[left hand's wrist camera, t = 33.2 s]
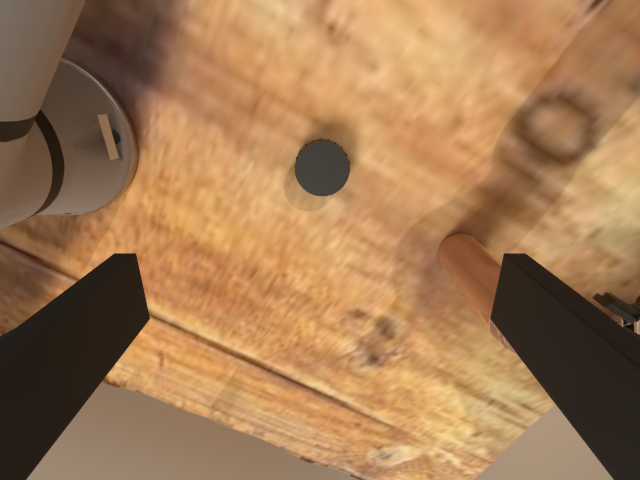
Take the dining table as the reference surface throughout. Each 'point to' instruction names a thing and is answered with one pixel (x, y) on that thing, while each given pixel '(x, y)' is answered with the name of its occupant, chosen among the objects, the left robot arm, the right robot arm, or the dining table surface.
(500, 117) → the dining table surface
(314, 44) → the dining table surface
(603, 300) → the right robot arm
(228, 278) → the dining table surface
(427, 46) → the dining table surface
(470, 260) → the wooden cylinder
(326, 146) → the lid
